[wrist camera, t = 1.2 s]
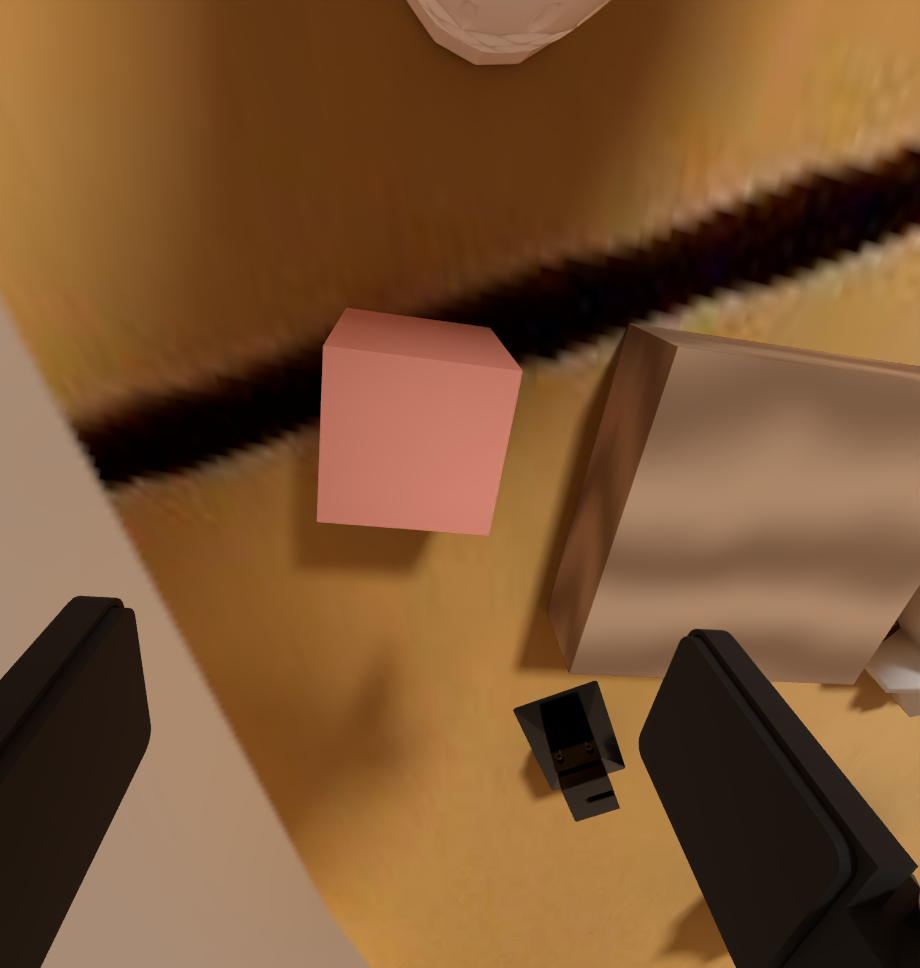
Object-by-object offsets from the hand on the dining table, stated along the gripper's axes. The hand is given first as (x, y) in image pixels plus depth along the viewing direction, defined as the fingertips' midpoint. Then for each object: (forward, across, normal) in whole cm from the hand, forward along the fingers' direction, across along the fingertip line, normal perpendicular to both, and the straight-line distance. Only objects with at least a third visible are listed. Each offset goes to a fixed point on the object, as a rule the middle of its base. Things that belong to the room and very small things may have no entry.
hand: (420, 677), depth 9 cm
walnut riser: (+16, -17, +3) cm, 24 cm away
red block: (+16, 0, -1) cm, 16 cm away
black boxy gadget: (+17, -13, +22) cm, 31 cm away
